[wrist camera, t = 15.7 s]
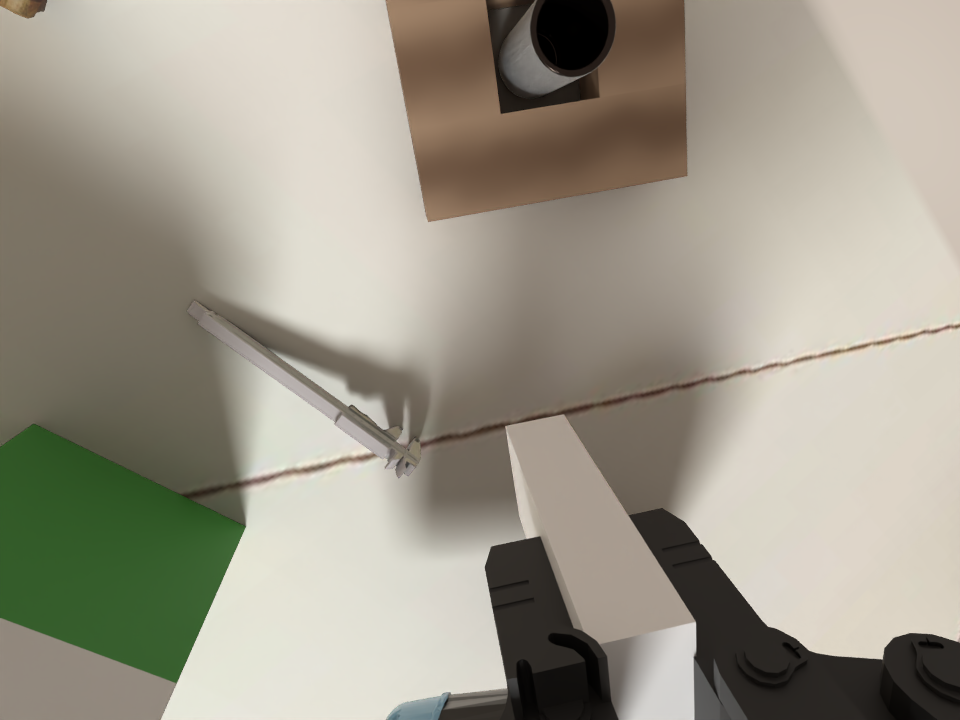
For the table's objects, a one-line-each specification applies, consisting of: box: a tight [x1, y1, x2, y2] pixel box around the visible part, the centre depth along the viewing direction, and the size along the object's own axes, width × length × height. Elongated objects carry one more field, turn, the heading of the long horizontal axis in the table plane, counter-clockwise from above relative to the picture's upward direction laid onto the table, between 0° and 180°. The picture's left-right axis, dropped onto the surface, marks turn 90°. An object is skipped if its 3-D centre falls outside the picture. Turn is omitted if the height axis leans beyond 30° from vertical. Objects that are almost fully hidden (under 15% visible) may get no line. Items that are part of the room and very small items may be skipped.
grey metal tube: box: [498, 0, 616, 99], centre depth 32 cm, size 4×4×10 cm
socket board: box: [386, 0, 687, 222], centre depth 35 cm, size 18×18×4 cm
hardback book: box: [0, 424, 246, 720], centre depth 33 cm, size 18×7×24 cm, turn 52°
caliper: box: [187, 300, 421, 478], centre depth 40 cm, size 20×1×6 cm, turn 51°
